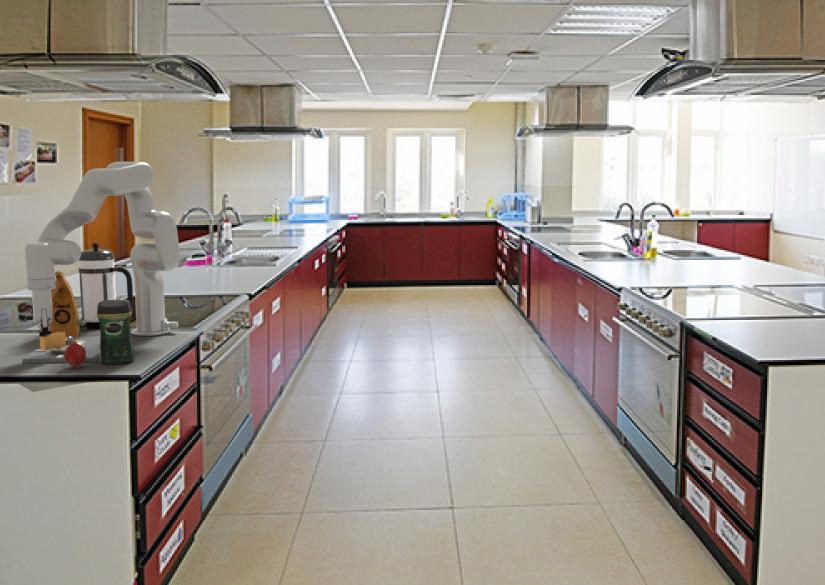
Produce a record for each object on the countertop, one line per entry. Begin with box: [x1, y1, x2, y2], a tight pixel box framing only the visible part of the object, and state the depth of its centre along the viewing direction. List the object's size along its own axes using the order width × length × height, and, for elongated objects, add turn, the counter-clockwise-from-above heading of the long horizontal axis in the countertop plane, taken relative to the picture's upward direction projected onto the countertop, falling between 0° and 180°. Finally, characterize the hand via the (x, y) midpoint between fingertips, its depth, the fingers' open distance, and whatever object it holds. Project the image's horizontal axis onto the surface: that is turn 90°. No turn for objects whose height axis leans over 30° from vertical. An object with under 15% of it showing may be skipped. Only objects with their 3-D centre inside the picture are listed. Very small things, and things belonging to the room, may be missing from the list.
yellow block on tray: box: [38, 332, 87, 354], centre depth 240 cm, size 15×10×6 cm, turn 160°
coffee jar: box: [97, 299, 135, 365], centre depth 233 cm, size 10×8×19 cm
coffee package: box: [50, 270, 81, 339], centre depth 268 cm, size 10×12×22 cm
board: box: [22, 342, 100, 364], centre depth 243 cm, size 20×20×2 cm
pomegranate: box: [64, 341, 86, 369], centre depth 227 cm, size 6×6×8 cm
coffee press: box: [74, 242, 134, 327], centre depth 291 cm, size 17×16×30 cm
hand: (46, 344), depth 239 cm, fingers closed
